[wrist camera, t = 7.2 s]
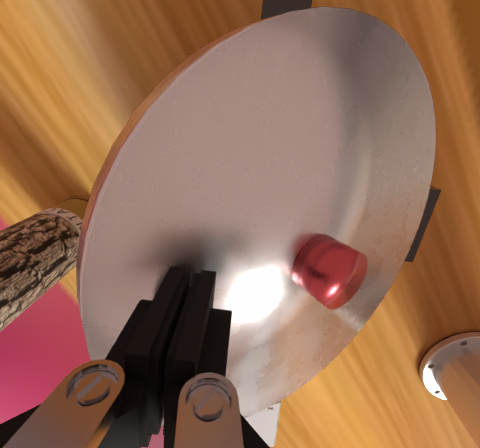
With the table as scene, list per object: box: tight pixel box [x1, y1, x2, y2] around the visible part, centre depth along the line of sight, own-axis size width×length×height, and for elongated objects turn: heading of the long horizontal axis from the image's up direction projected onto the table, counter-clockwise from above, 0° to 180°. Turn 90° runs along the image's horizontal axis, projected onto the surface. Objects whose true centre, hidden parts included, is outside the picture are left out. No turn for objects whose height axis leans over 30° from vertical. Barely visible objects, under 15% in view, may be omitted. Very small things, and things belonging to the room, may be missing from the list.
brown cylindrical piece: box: [0, 199, 88, 331], centre depth 25 cm, size 7×7×25 cm
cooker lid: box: [76, 7, 436, 426], centre depth 14 cm, size 21×21×4 cm
